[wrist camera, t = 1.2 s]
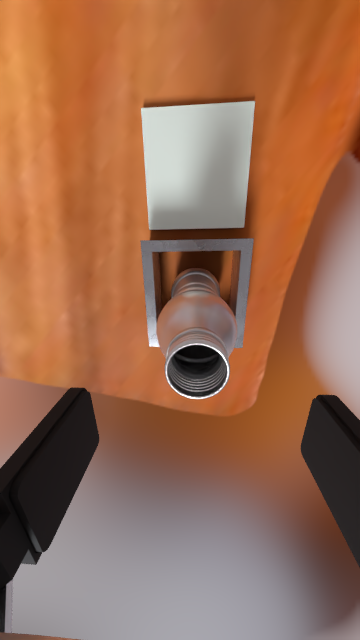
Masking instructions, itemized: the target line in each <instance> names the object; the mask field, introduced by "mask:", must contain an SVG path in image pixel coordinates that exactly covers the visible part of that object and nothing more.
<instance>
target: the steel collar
mask: <svg viewBox="0 0 360 640" xmlns="http://www.w3.org/2000/svg"><path fill="white" fill-rule="evenodd" d="M253 239H254V238H252V239H201V240H150V241H141V251H142V263H143V275H144V288H145V300H146V312H147V324H148V337H149V346H154V347H160V346H159V343H158V339H157V334H156V325H157V321H158V317H159V315H160V313H161V311H162V298H161V279H160V259H159V252H169V251H232V250H233V260H232V274H231V288H230V302H229V307H230V309H231V310H232V312H233V314H234V316H235V319H236V323H237V337H236V342H235V346H234V348H242V346H243V336H244V326H245V317H246V307H247V297H248V288H249V278H250V268H251V259H252V249H253Z"/></svg>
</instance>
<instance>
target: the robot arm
mask: <svg viewBox="0 0 360 640" xmlns="http://www.w3.org/2000/svg"><path fill="white" fill-rule="evenodd" d="M98 443H99V434H98V430H97V424H96V419H95V415H94V410H93V405H92V400H91V395H90V392H87V390H86V389H85V388H70V389H69V390H68V391H67V392H66V393H65V394H64V395H63V397H62V398H61V399H60V400H59V401H58V402H57V403H56V405H55V406H54V407H53V408H52V409H51V410H50V412H49V413H48V414H47V415H46V416H45V417H44V419H43V420H42V421H41V422H40V423H39V424H38V426H37V427H36V428H35V429H34V430H33V432H31V434H30V435H29V436H28V437H27V438H26V440H25V441H24V442H23V443H22V444H21V445H20V446H19V448H18V449H17V450H16V451H15V452H14V454H13V455H12V456H11V457H10V458H9V459H8V460H7V462H6V463H5V464H4V465H3V466H2V467H1V468H0V640H78V639H69V638H60V637H50V636H41V635H29V634H15V633H12V593H13V577H14V575H15V573H16V572H17V570H18V568H19V566H20V564H21V563H24V564H35V565H36V564H37V562H38V560H39V558H40V556H41V554H42V552H45V551H46V550H47V549H48V548H49V546H50V544H51V542H52V540H53V538H54V536H55V534H56V532H57V530H58V528H59V526H60V524H61V521H62V519H63V517H64V515H65V513H66V511H67V509H68V507H69V505H70V503H71V500H72V498H73V496H74V494H75V492H76V490H77V488H78V486H79V484H80V482H81V480H82V478H83V475H84V473H85V471H86V469H87V467H88V465H89V463H90V461H91V459H92V457H93V454H94V452H95V450H96V448H97V446H98ZM301 453H302V455H303V458H304V460H305V462H306V463H307V466H308V468H309V469H310V471H311V473H312V475H313V477H314V479H315V481H316V483H317V485H318V487H319V489H320V491H321V493H322V495H323V497H324V499H325V501H326V503H327V505H328V507H329V508H330V510H331V512H332V514H333V516H334V518H335V520H336V522H337V524H338V526H339V528H340V530H341V532H342V534H343V536H344V538H345V540H346V542H347V544H348V546H349V548H350V550H351V551H352V553H353V555H354V557H355V559H356V561H357V563H358V565H359V567H360V420H359V419H358V418H357V417H356V416H355V415H354V414H353V413H352V412H351V411H350V410H349V409H348V407H347V406H346V405H345V404H344V403H343V402H342V401H341V400H340V399H339V398H338V397H337V396H335V395H318V396H317V397H316V398H314V399H313V400H312V404H311V408H310V412H309V416H308V420H307V424H306V427H305V431H304V435H303V439H302V443H301Z"/></svg>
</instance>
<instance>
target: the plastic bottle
mask: <svg viewBox="0 0 360 640" xmlns="http://www.w3.org/2000/svg"><path fill="white" fill-rule="evenodd" d="M171 297H172V299H171V300H169V301H168V302H167V304H166V305H165V307H164V308H163V309H162V311H161V313H160V315H159V317H158V321H157V325H156V334H157V339H158V343H159V346H160V349H161V351H162V353H163V354H164V356H165V357H166V363H165V375H166V379H167V381H168V383H169V385H170V386H171V387H172V388H173V389H174V390H175V391H176V392H177V393H179V394H180V395H182V396H184V397H187V398H191V399H204V398H209V397H211V396H214V395H215V394H217V393H218V392H220V391H221V390H222V389H223V388H224V387H225V385H226V384H227V381H228V379H229V374H230V365H229V361H228V357H229V356H230V354H231V353H232V351H233V348H234V346H235V342H236V337H237V323H236V319H235V316H234V314H233V312H232V310H231V309H230V307H229V306H228V305H227V304H226V302H225V301H224V300H223V299H222V298H220V287H219V284H218V282H217V280H216V278H215V277H214V276H213V274H211V273H210V272H209V271H207V270H205V269H202V268H190V269H187V270H185V271H183V272H181V273H180V274H179V275H178V276H177V277H176V279H175V280H174V283H173V285H172V289H171Z"/></svg>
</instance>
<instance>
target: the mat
mask: <svg viewBox="0 0 360 640" xmlns="http://www.w3.org/2000/svg"><path fill="white" fill-rule="evenodd" d="M254 108H255V101H246V102H230V103H215V104H199V105H183V106H167V107H152V108H141V113H142V128H143V143H144V158H145V173H146V188H147V203H148V219H149V230H172V229H215V228H244V223H245V212H246V200H247V188H248V177H249V165H250V154H251V142H252V131H253V119H254Z"/></svg>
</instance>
